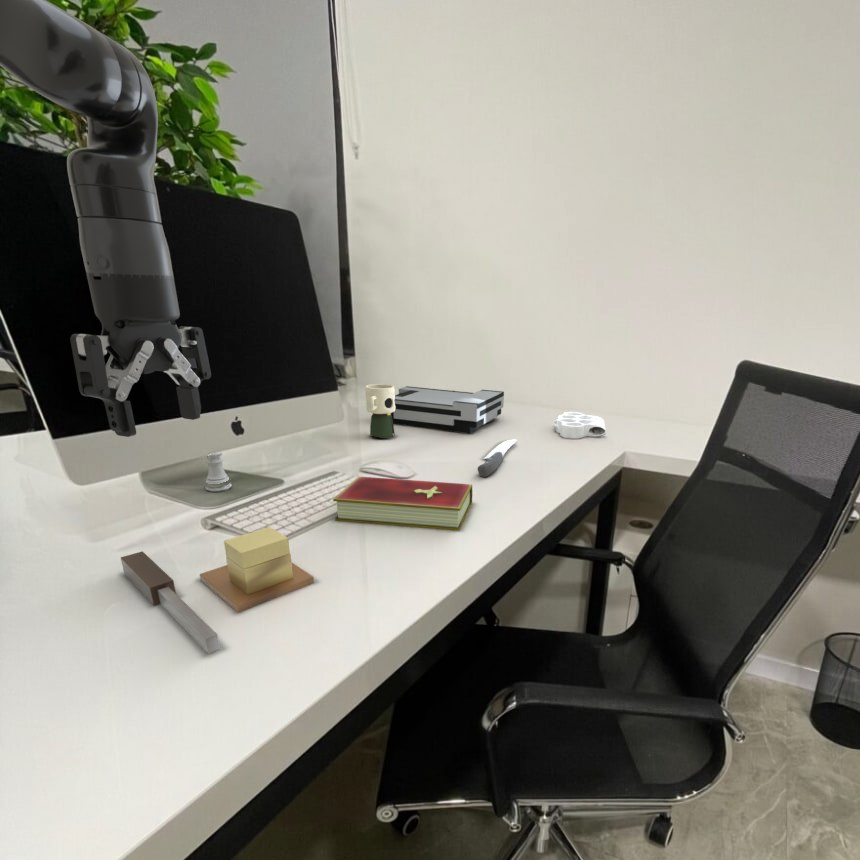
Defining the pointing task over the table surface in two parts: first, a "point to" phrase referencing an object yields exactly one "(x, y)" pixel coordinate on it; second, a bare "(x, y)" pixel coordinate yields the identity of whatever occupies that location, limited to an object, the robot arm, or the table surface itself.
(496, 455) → the kitchen knife
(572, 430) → the white dimpled palette
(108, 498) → the table surface
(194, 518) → the table surface
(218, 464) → the rook chess piece
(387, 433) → the character mug
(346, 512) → the hardcover book
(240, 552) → the butter pat
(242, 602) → the butter board
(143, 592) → the butter knife
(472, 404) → the game console
